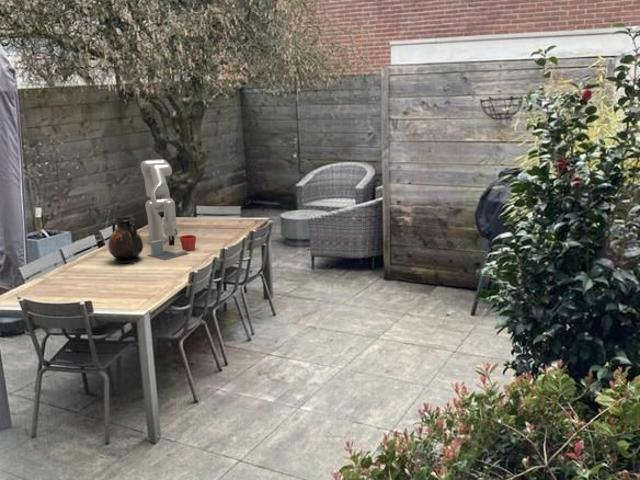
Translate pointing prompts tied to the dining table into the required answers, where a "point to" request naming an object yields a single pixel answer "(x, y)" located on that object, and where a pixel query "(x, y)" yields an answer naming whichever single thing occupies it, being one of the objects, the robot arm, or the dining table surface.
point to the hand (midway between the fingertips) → (171, 245)
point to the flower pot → (188, 242)
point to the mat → (167, 256)
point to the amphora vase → (125, 241)
